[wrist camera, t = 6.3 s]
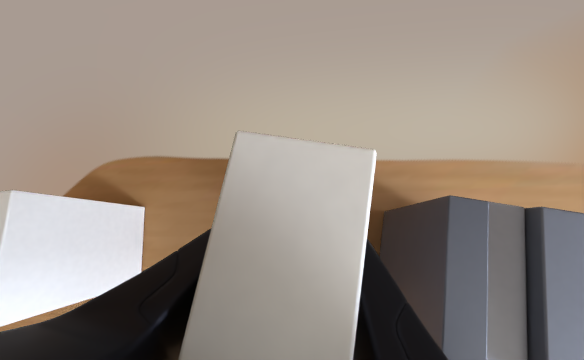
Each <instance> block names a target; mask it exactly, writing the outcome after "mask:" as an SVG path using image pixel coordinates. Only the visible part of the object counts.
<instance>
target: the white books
mask: <svg viewBox="0 0 584 360" xmlns="http://www.w3.org/2000/svg"><path fill="white" fill-rule="evenodd" d="M144 211H145V207H140V206H133V205H125V204H117V203H110V202H102V201H94V200H87V199H79V198H71V197H64V196H56V195H48V194H41V193H33V192H25V191H17V190H8V191H0V327H1V326H4V325H7V324H10V323H13V322H17V321H20V320H23V319H26V318H29V317H33V316H36V315H39V314H42V313H46V312H49V311H52V310H55V309H58V308H62V307H65V306H68V305H71V304H74V303H78V302H81V301H84V300H87V299H91V298H94V297H97V296H99V295H101V294H103V293H105V292H107V291H109V290H110V289H112V288H114V287H116V286H118V285H120V284H121V283H123V282H125V281H127V280H129V279H130V278H132V277H134V276H136V275H137V274H139V273H141V267H142V249H143V230H144Z"/></svg>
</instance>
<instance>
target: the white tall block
mask: <svg viewBox="0 0 584 360" xmlns="http://www.w3.org/2000/svg"><path fill="white" fill-rule="evenodd" d="M376 155H377V154H376V151H375V150H374V149H369V148H362V147H354V146H346V145H340V144H333V143H325V142H317V141H311V140H304V139H296V138H289V137H282V136H274V135H267V134H260V133H252V132H245V131H237V132H236V134H235V138H234V142H233V146H232V150H231V154H230V158H229V161H228V165H227V169H226V173H225V177H224V181H223V185H222V189H221V193H220V197H219V201H218V205H217V209H216V213H215V217H214V221H213V224H212V228H211V232H210V236H209V240H208V244H207V248H206V252H205V256H204V260H203V264H202V268H201V272H200V276H199V280H198V284H197V288H196V291H195V295H194V299H193V303H192V307H191V311H190V315H189V319H188V323H187V327H186V331H185V335H184V339H183V343H182V347H181V351H180V355H179V358H178V360H353V354H354V346H355V337H356V328H357V320H358V311H359V302H360V294H361V285H362V276H363V268H364V259H365V250H366V242H367V233H368V224H369V216H370V207H371V198H372V190H373V181H374V172H375V164H376Z"/></svg>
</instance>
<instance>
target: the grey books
mask: <svg viewBox="0 0 584 360" xmlns="http://www.w3.org/2000/svg"><path fill="white" fill-rule="evenodd" d="M380 259H381V260H382V262H383V263H384V265H385V266H386V268H387V269H388V271H389V272H390V274H391V276H392V277H393V279H394V280H395V282H396V283H397V285H398V286H399V288H400V290H401V291H402V293H403V294H404V296H405V297H406V299H407V302H408V303H410V305H411V307H412V308H413V310H414V311H415V313H416V314H417V316H418V317H419V319H420V320H421V322H422V323H423V325H424V326H425V328H426V329H427V331H428V332H429V334H430V335H431V336H432V338H433V339H434V341H435V342H436V343H437V345H438V346H439V347H440V349H441V350H442V351H443V353H444V354H445V355H446V357H447V358H448V360H584V214H583V213H579V212H572V211H566V210H559V209H553V208H547V207H534V208H523V207H520V206H513V205H507V204H501V203H494V202H488V201H482V200H476V199H469V198H463V197H457V196H445V197H441V198H437V199H433V200H429V201H425V202H421V203H417V204H413V205H409V206H405V207H401V208H397V209H393V210H389V211H385V212H384V218H383V228H382V237H381V247H380Z"/></svg>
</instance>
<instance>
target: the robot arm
mask: <svg viewBox="0 0 584 360" xmlns="http://www.w3.org/2000/svg"><path fill="white" fill-rule="evenodd" d="M210 232H211V229H209V230H208V231H206V232H205V233H203V234H202V235H200V236H198V237H197V238H195V239H194V240H192V241H191V242H189V243H188V244H186V245H185V246H183V247H181V248H180V249H178V251H175V252H174V253H172V254H170V255H169V256H167V257H166V258H164V259H163V260H161V261H159V262H158V263H156V264H155V265H153V266H151V267H150V268H148V269H146V270H145V271H143V272H141V273H139V274H137V275H136V276H134V277H132V278H130V279H129V280H127V281H125V282H123V283H121V284H120V285H118V286H116V287H114V288H112V289H110V290H109V291H107V292H105V293H103V294H101V295H99V296H98V297H96V298H94V299H92V300H90V301H88V302H87V303H85V304H83V305H81V306H79V307H77V308H75V309H73V310H72V311H70V312H67V313H65V314H63V315H61V316H58V317H55V318H53V319H50V320H47V321H44V322H41V323H37V324H33V325H29V326H24V327H20V328H16V329H11V330H7V331H2V332H0V360H178V358H179V355H180V351H181V347H182V343H183V339H184V335H185V331H186V327H187V323H188V319H189V315H190V311H191V307H192V303H193V299H194V295H195V291H196V288H197V284H198V280H199V276H200V272H201V268H202V264H203V260H204V256H205V252H206V248H207V244H208V240H209V236H210ZM353 360H448V358H447V357H446V355H445V354H444V353H443V351H442V350H441V349H440V347H439V346H438V345H437V343H436V342H435V341H434V339H433V338H432V336H431V335H430V334H429V332H428V331H427V329H426V328H425V326H424V325H423V323H422V322H421V320H420V319H419V317H418V316H417V314H416V313H415V311H414V310H413V308H412V307H411V305H410V303H408V302H407V299H406V297H405V296H404V294H403V293H402V291H401V290H400V288H399V286H398V285H397V283H396V282H395V280H394V279H393V277H392V276H391V274H390V272H389V271H388V269H387V268H386V266H385V265H384V263H383V262H382V260H381V259H380V257H379V255H378V254H377V252H376V251H375V249H374V248H373V246H372V245H371V243H370V241H369V240H368V238H367V242H366V250H365V259H364V268H363V276H362V285H361V294H360V302H359V311H358V320H357V328H356V337H355V346H354V354H353Z"/></svg>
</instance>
